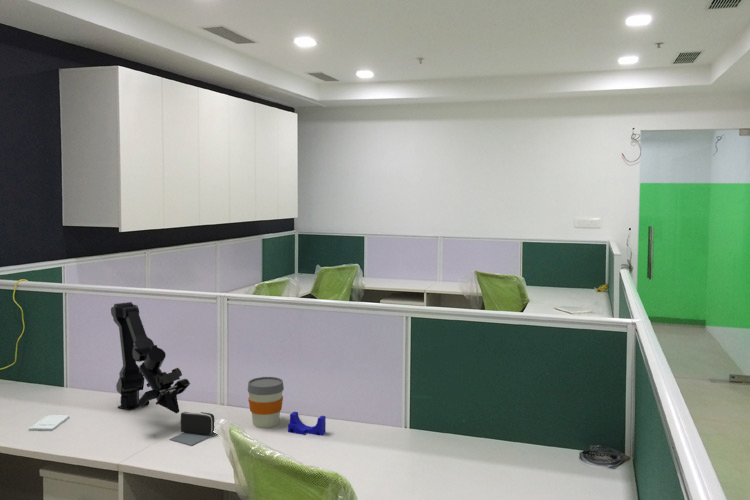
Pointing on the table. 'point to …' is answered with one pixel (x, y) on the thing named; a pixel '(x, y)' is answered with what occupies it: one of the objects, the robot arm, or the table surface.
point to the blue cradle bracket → (301, 428)
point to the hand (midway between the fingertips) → (178, 412)
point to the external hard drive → (49, 423)
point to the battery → (197, 423)
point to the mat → (191, 438)
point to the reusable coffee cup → (265, 400)
